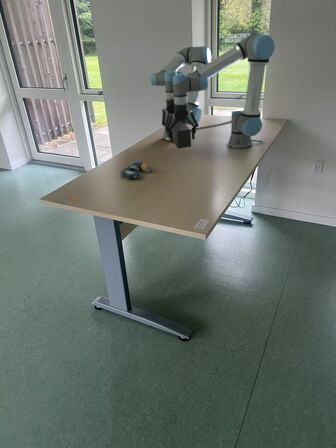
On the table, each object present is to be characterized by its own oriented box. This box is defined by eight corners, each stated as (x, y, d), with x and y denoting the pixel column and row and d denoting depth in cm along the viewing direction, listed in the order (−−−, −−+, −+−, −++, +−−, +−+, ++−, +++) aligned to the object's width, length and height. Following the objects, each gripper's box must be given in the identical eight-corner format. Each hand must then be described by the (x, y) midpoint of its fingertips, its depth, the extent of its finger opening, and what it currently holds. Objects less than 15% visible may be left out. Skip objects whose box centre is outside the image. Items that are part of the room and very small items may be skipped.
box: (167, 136, 223) (166, 120, 217) (179, 134, 224) (178, 118, 218) (178, 148, 199) (177, 131, 194) (191, 146, 201) (190, 129, 195)
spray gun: (156, 167, 200) (135, 165, 206) (156, 160, 198) (134, 158, 204) (139, 182, 185) (117, 179, 191) (138, 174, 183) (115, 172, 189)
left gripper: (157, 102, 203) (160, 138, 215) (189, 97, 206) (191, 134, 218) (154, 99, 209) (157, 135, 221) (186, 95, 212) (188, 131, 224)
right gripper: (160, 107, 185) (163, 145, 196) (203, 102, 189) (204, 139, 200) (158, 105, 191) (161, 141, 202) (199, 100, 196) (200, 135, 207)
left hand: (174, 134), depth 219 cm, fingers closed on box, 8 cm apart
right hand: (182, 140), depth 201 cm, fingers open, 13 cm apart
